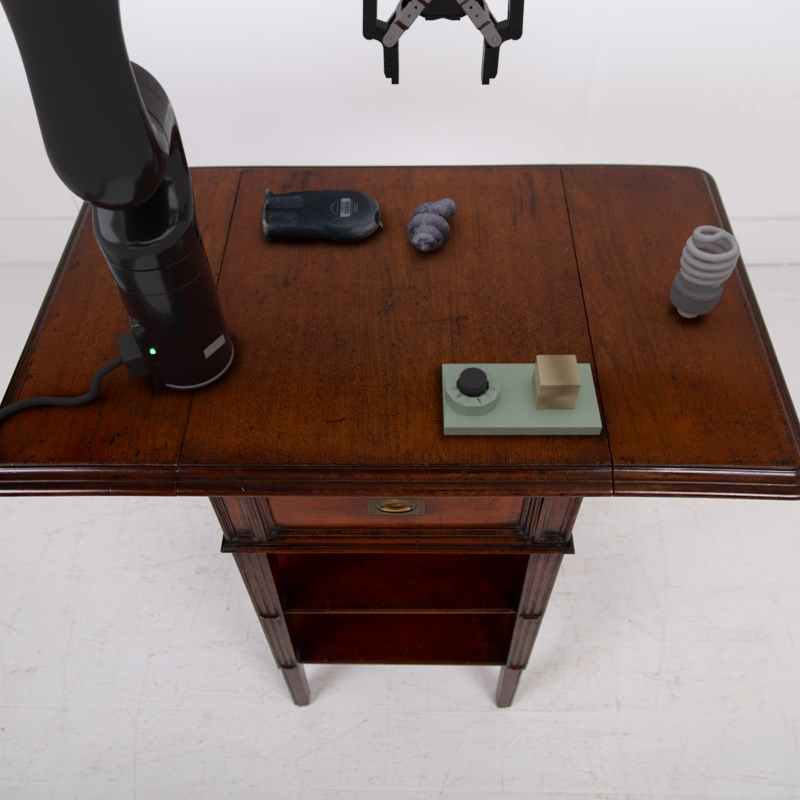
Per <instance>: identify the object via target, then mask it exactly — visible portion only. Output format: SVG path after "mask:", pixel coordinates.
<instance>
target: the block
mask: <svg viewBox="0 0 800 800" xmlns="http://www.w3.org/2000/svg"><path fill="white" fill-rule="evenodd" d="M577 363H578V361H577V356H576V354H536V356H535V360H534V364H535V366H534V371H533V376H532V385H533V393H534V401H535V409H574V408H575V405H576V401H577V397H578V394H579V390H580V386H581V383H580V377H579V372H578V366H577Z"/></svg>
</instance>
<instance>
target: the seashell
mask: <svg viewBox="0 0 800 800" xmlns="http://www.w3.org/2000/svg"><path fill="white" fill-rule="evenodd" d="M457 213H458V207H457V204H456V202H455V200H453V199H451V198H449V197H448V198H447V197H445V198H443V199H439V200H437V201H436V200H434V201H427V202H422V204H419V205H417V206H416V207H415V208H414V209H413V211H412V219H411V220H410V221H409V222H408V224H407V231H406V232H407V235H408V237H409V240H410V242H411V244H412V245H414V247H415V248H416V249H417V250H418V251H420V252H424V253H427V252H432V251H434V250H435V249H438V248H441V246H442V245H443V243H444V241H446V240H447V238H448V237H449V234H450V232H451V229H450V224H449V223H448V221H447V220H446V218H447V219H448V218H451V217H453V216H455V215H456V214H457Z"/></svg>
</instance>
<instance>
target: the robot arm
mask: <svg viewBox="0 0 800 800" xmlns="http://www.w3.org/2000/svg"><path fill="white" fill-rule="evenodd" d="M120 1H121V0H0V5H1V7H2V10H3V12H4V14H5V16H6V19H7V22H8V24H9V27H10V29H11V31H12V32H11V33H12V34H13V37H14V40H15V43H16V46H17V49H18V52H19V55H20V58H21V62H22V64H23V69H24V72H25V75H26V79H27V83H28V84H27V85H28V86H29V87H28V88H29V92H30V94H31V99H32V103H33V106H34V107H33V108H34V111H35V115H36V119H37V123H38V126H39V130H40V135H41V138H42V142H43V146H44V150H45V152H46V156H47V158H48V161H49V163H50V165H51V167H52V169H53V171H54V173H55V174H56V176H57V177H58V178H59V180H60V181H61V182H62V184H64V186H65V187H66V188H67V189H68V190H69V191H70V192H71V193H73V194H74V195H75V196H76V197H77V198H80V199H81V200H82V201H83V202H85V203H87V204H89V205H91V213H92V215H91V216H92V217H91V219H92V229H93V233H94V236H95V237H94V238H95V240H96V243H97V245H98V246H99V249H100V251H101V253H102V256H103V258H104V261H105V264H106V265H107V268H108V270H109V273H110V275H111V278H112V280H113V283H114V285H115V287H116V290H117V292H118V294H119V297H120V299H121V301H122V303H123V306H124V309H125V312H126V315H127V320H128V323H129V327H130V330H131V331H129V332H124V333H121V334H118V335H117V339H118V344H119V349H120V355H118V356H117V357H116V358H114V359H112V360H111V361H109V362H107V363H106V364H105V365H104V366H102V367H101V368H100V369H99V370H98V371H97V372H96V373H95V374H94V376H93V377H92V380H91V385H90V391H88V392H87V393H85V394H82V395H80V396H74V397H73V396H72V397H59V396H33V397H32V396H31V397H26V398H23V399H20V400H17V401H14V402H12V403H9V404H8V405H6V406H3V407H2V408H0V421H1V420H3V419H4V418H6V417H7V416H9V415H11V414H13V413H15V412H18V411H20V410H23V409H26V408H29V407H34V406H64V407H65V406H66V407H69V406H71V407H72V406H80V405H85V404H88V403H90V402H92V401H93V400H95V399H96V398H97V397H98V396H99V395H100V392H101V387H102V386H101V384H102V381H103V380H104V379H105V377H106V376H108V375H109V374H110V373H112V372H113V371H114V370H116V369H117V368H119V367H120V366H122V365H123V364H124V367H125V368H126V371H127V373H128V375H129V378H130V379H131V380H134V379H137V378H140V377H144V376H147V375H148V376H149V375H150V378H151V381H152V382H153V385H154V388H155V390H158V391H159V390H163V389H169V390H173V391H180V392H181V391H182V392H186V391H187V392H190V391H196V390H200V389H203V388H206V387H209V386H211V385H213V384H215V383H216V382H218V381H219V380H221V379H222V378H223V377H224V376H225V375H226V374H227V373H228V372H229V371H230V369H231V367H232V365H233V364H234V360H235V347H234V344H233V341H232V337H231V335H230V332H229V329H228V326H227V322H226V319H225V315H224V311H223V308H222V304H221V300H220V297H219V292H218V289H217V286H216V283H215V280H214V279H215V278H214V275H213V271H212V269H211V265H210V261H209V258H208V254H207V251H206V247H205V243H204V240H203V239H204V238H203V236H202V232H201V229H200V225H199V221H198V217H197V212H196V201H195V192H194V185H193V179H192V175H191V172H190V168H189V164H188V160H187V156H186V152H185V147H184V143H183V139H182V134H181V132H180V131H181V130H180V128H179V127H180V126H179V123H178V120H177V116H176V113H175V110H174V107H173V104H172V102H171V100H170V98H169V96H168V94H167V92H166V90H165V89H164V87H163V86H162V84H161V83H160V81H158V79H157V78H156V77H155V76H154V75H153V74H152V73H151V72H150V71H148V69H146V68H145V67H143V66H141V65H140V64H138V63H137V62H135V61H133V60H131V59H130V56H129V51H128V48H127V45H126V44H127V43H126V40H125V34H124V29H123V22H122V14H121V3H120ZM378 3H379V2H378V0H362V32H361V33H362V37H363V38H364V39H365V40H366V41H372V40H374V41H377V42H379V43H380V44H381V45H382V50H383V51H382V56H383V58H382V59H383V75H384V76H385V79H391V81H390V82H391V85H399V84H400V38H401V37H402V36H403V35H404V33H405V32H406V31H408V30H410V28H411V27H412V25H413V24H414V22H415V21H416V20H417V19H418V17H420V18H423V19H424V21H426V22H427V21H437V20H441V19H444V20H448V21H461V18H465V17H466V16H467V17H468V19H469V20H470V21H471V23H472V24H473V26H474V27H475V29H476V30H477V31H479V32H480V34H481V35H482V36H483V43H482V54H481V68H480V69H481V70H480V79H481V80H480V81H481V85H482V86H490V81H491V79H493V80H494V79H496V77H497V75H498V72H499V62H500V49H501V46H502V45H503V44H504V43H505V42H507V41H510V40H512V41H519V40H521V38H522V36H523V33H524V14H525V0H507V14H506V15H507V16H506V19H503V20H500V21H498V20H497V18H496V17H495V15H494V14H493V12H492V11H491V9H490V7H489V5H488V3H487V2H486V0H399V1H398V3H397V5H396V7H395V8H394V11H393V12H392V13H391V14H390V16H389V17H388V19H387V20H386V21H385V20H382V19H378Z"/></svg>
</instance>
